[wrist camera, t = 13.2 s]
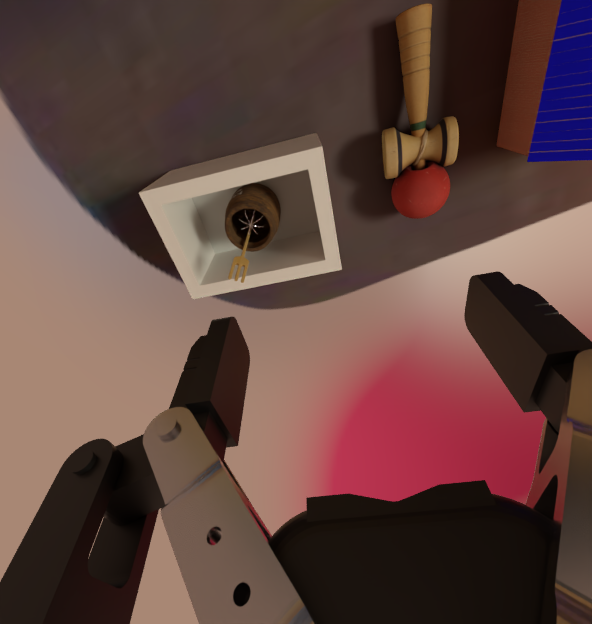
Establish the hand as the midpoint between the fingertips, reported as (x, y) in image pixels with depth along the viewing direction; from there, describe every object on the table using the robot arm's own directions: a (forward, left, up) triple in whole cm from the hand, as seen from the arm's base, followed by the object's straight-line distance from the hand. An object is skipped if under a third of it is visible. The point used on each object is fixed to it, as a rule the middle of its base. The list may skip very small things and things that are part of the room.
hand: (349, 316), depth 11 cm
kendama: (-1, +11, -30) cm, 32 cm away
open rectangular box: (+4, -8, -30) cm, 31 cm away
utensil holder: (+4, -8, -29) cm, 30 cm away
